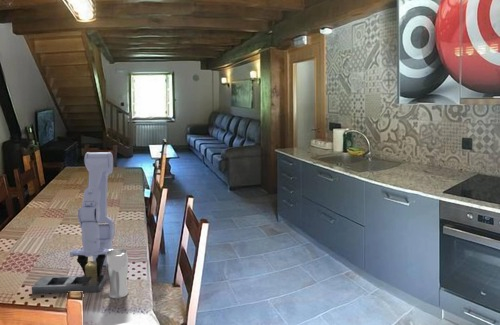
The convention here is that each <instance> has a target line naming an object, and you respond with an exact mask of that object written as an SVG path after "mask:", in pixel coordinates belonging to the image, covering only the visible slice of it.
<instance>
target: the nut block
mask: <svg viewBox="0 0 500 325" xmlns="http://www.w3.org/2000/svg"><path fill="white" fill-rule="evenodd" d="M85 275H98V273H97V263H96V261H93V260H92V261H90V260H88V263H87V264H86V265H85Z"/></svg>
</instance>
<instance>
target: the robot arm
mask: <svg viewBox="0 0 500 325" xmlns="http://www.w3.org/2000/svg"><path fill="white" fill-rule="evenodd" d="M83 162H84V165H85V167H86V171H88V185H87V186H88V187H86V188H85V189H84V190H83V191H84V192H83V197H82V202H81V207H79V208H78V214H77V220H78V222H79V227H80V229H81V240H82V241H81V242H82V248H79V249H78V248H77V249H71V250H70V251H69V257H70V258H74V257H77V258H76V261H77V263H78V264H79V265H80V267H81V270H82V272H83V275H85V265H86V264H87V263H88V261H89V257H92V261H96V263H97V273H98V275H102V271H103V266H106V252H107V251H109V250H112V249H114V243H113V242H114V241H113V240H114V238H115V233H116V228H115V221H114V220H113V218H111V217H109V216H108V180H109V175H111V174H113V170H114V156H113V153H112V152H111V151H108V152H107V151H106V152H100V151H99V152H89V151H87V152H86V153H85V155H84V159H83Z"/></svg>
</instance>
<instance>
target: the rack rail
mask: <svg viewBox="0 0 500 325" xmlns="http://www.w3.org/2000/svg"><path fill="white" fill-rule="evenodd" d="M106 276H107V275H106V274H101V275H84V274H83V275H50V276H49V275H48V276H47V275H45V276H44V275H43V276H41V277H40V278H38V280H37V281H36V282H35V283H34V284H32V286H31V294H32V295H38V294H39V295H41V294H68V293H67V292H68V291H83V292H82V293H99V292H101V290H102V289H103V286H104V285H105V283H106V282H107V279H106V278H107V277H106Z"/></svg>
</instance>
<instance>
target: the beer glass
mask: <svg viewBox="0 0 500 325" xmlns="http://www.w3.org/2000/svg"><path fill="white" fill-rule="evenodd" d="M105 269H106V273H107V278H108V281H109V292H108V296H109V297H110V298H111V299H114V298H115V300H116V299H117V300H118V299H123V298H125V297H127V295H128V294H129V289H128V285H127V283H128V282H127V279H128V273H129V257H128V250H127V249H125V248H113V249H112V250H109V251H107V252H106V267H105Z"/></svg>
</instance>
